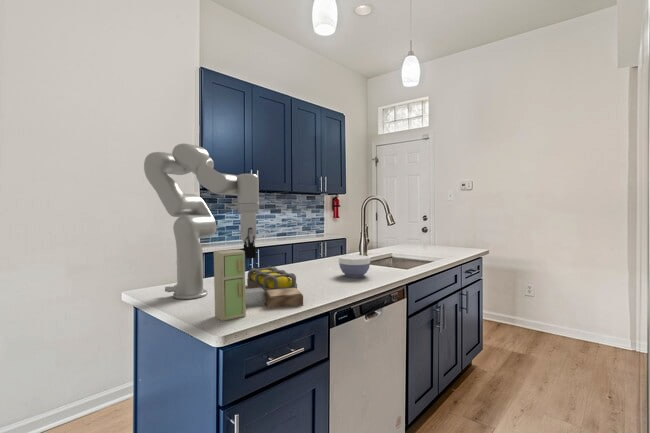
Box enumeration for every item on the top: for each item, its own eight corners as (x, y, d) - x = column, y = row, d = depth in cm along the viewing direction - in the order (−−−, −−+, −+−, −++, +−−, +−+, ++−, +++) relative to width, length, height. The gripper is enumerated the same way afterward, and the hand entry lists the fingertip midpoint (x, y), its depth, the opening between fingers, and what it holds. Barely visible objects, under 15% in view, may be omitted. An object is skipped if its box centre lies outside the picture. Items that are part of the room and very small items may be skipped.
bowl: (335, 273, 180) (335, 255, 180) (365, 272, 183) (365, 254, 183) (342, 279, 165) (342, 259, 164) (374, 278, 168) (374, 258, 167)
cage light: (272, 264, 163) (303, 275, 137) (272, 281, 163) (303, 295, 138) (242, 267, 155) (269, 279, 130) (242, 285, 155) (269, 300, 130)
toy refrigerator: (222, 322, 105) (221, 253, 104) (214, 316, 111) (213, 250, 110) (246, 317, 110) (246, 251, 109) (238, 311, 115) (237, 248, 115)
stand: (269, 308, 119) (269, 296, 119) (265, 300, 129) (265, 290, 129) (303, 305, 123) (303, 293, 123) (296, 298, 132) (296, 287, 132)
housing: (235, 308, 120) (234, 294, 120) (232, 303, 126) (232, 290, 126) (266, 305, 124) (266, 291, 124) (262, 300, 130) (262, 287, 130)
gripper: (236, 208, 131) (237, 254, 131) (239, 208, 115) (240, 260, 115) (256, 208, 133) (257, 252, 134) (262, 208, 117) (263, 259, 117)
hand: (249, 256), depth 124 cm, fingers open, 9 cm apart
